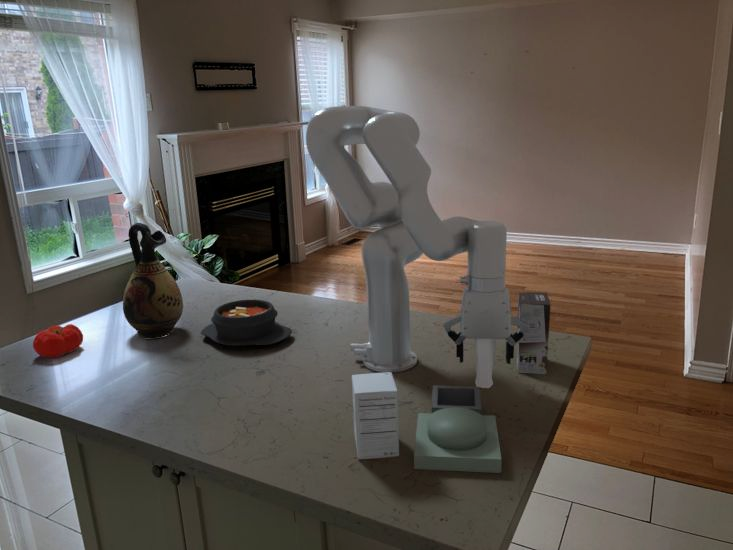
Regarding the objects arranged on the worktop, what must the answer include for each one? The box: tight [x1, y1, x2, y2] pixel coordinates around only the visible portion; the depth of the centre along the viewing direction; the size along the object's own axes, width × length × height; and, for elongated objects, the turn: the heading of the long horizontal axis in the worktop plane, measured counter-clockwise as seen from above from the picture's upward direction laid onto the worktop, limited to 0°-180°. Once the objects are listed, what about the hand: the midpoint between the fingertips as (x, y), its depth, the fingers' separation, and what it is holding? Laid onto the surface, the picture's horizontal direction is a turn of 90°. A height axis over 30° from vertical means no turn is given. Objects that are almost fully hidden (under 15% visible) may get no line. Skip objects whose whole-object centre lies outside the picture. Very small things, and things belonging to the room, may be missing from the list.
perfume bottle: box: [474, 339, 497, 389], centre depth 125 cm, size 5×4×15 cm
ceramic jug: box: [122, 222, 184, 339], centre depth 160 cm, size 17×16×30 cm
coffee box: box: [515, 291, 552, 375], centre depth 133 cm, size 9×6×16 cm
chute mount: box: [413, 384, 502, 474], centre depth 107 cm, size 14×22×5 cm, turn 172°
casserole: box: [200, 299, 293, 347], centre depth 156 cm, size 25×19×8 cm
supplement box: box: [351, 372, 400, 460], centre depth 103 cm, size 7×7×13 cm
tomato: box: [32, 323, 84, 359], centre depth 151 cm, size 10×11×6 cm
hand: (484, 360), depth 126 cm, fingers open, 9 cm apart
